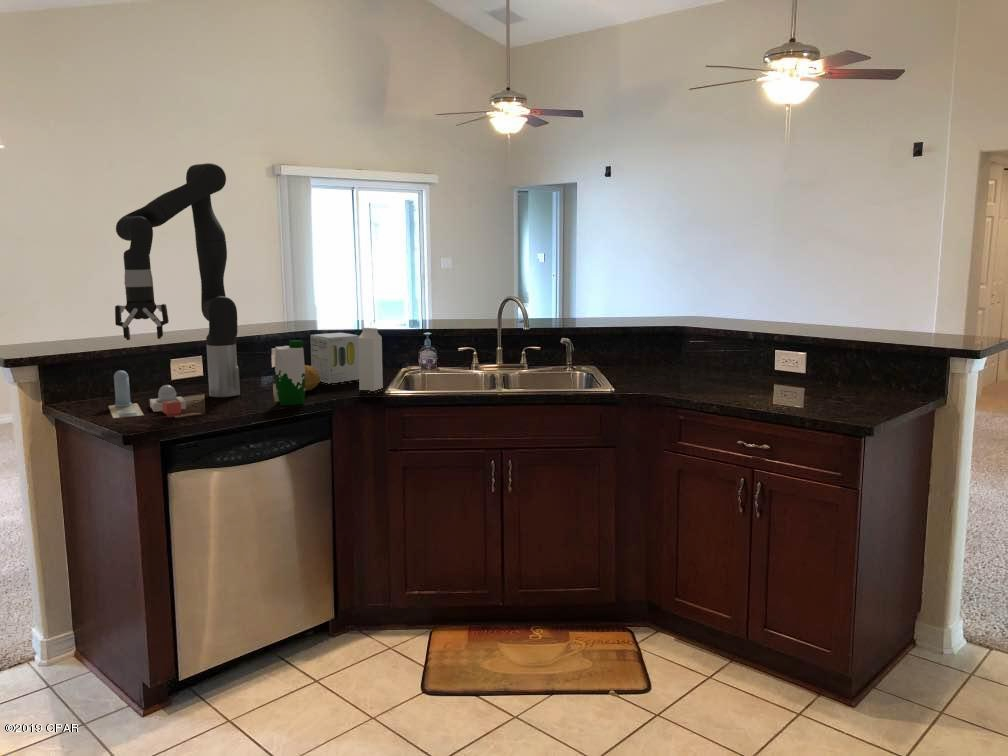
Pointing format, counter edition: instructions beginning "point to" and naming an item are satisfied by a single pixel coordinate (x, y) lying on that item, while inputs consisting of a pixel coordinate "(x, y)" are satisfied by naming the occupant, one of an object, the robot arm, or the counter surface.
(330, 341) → the supplement box
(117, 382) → the pawn
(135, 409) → the track
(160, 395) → the light blue rounded piece
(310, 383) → the potato
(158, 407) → the base
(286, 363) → the milk carton
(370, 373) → the milk
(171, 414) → the die
